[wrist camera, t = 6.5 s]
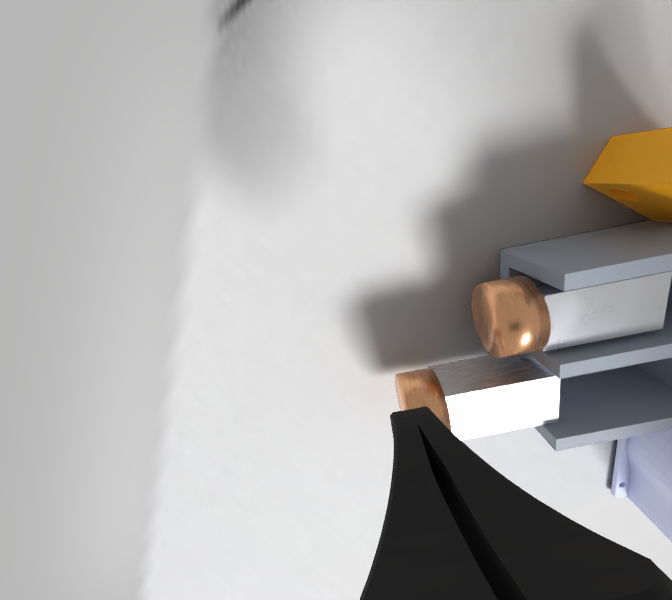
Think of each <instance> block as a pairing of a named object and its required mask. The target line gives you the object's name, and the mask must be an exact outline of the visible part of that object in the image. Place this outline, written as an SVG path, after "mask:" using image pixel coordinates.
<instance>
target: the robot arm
mask: <svg viewBox="0 0 672 600" xmlns="http://www.w3.org/2000/svg"><path fill="white" fill-rule="evenodd" d="M390 418H391V425H392V431H393V438H394V460H393V471H392V481H391V488H390V495H389V500H388V506H387V511H386V515H385V520H384V524H383V529H382V533H381V537H380V540H379V544H378V547H377V550H376V554H375V557H374V560H373V564H372V567H371V570H370V573H369V576H368V579H367V581H366V584H365V587H364V589H363V592H362V595H361V597H360V600H672V580H671V579H670V578H669V577H668V576H667V575H666V574H665V573H664V572H662V571H661V570H660V569H659V568H658V567H657V566H656V565H655V564H654V563H653V562H652V560H650V559H649V558H646V557H644V556H642V555H640V554H638V553H636V552H634V551H632V550H630V549H628V548H626V547H623V546H621V545H619V544H617V543H615V542H613V541H611V540H609V539H607V538H605V537H602V536H601V535H599V534H597V533H595V532H593V531H591V530H589V529H587V528H585V527H584V526H582V525H580V524H578V523H576V522H574V521H572V520H571V519H569V518H567V517H566V516H564V515H562V514H561V513H559V512H557V511H556V510H554V509H552V508H551V507H549V506H547V505H546V504H544V503H542V502H541V501H539V500H537V499H536V498H534V497H533V496H531V495H530V494H528V493H527V492H525V491H524V490H522V489H521V488H519V487H518V486H517V485H515V484H514V483H512V482H511V481H510V480H508V479H507V478H505V477H504V476H503V475H501V474H500V473H499V472H498V471H496V470H495V469H494V468H492V467H491V466H490V465H489V464H487V463H486V462H485V461H484V460H483V459H481V458H480V457H479V456H478V455H477V454H475V453H474V452H473V451H472V450H471V449H470V448H469V447H468V446H466V445H465V444H464V443H463V442H462V441H461V440H460V439H459V438H458V437H457V436H456V435H455V434H454V433H452V432H451V431H450V430H449V429H448V428H447V427H446V426H445V425H444V424H443V422H442V421H441V420H440V419H439V418H438V417H437V416H436V415H435V414H434V413H433V412H432V411H431V409H430V408H428V407H427V406H425V407H420V408H415V409H409V410H404V411H398V412H393V413H392V414H391V415H390ZM611 493H612V495H613V496H614V497H615V498H624V497H628V498H629V499H630V500H631V501H632V502H633V503H634V504H635V505H636V506H637V507H638V508H639V509H640V510H641V511H642V512H643V513H644V514H645V515H646V516H647V517H648V518H649V519H650V520H651V521H652V522H653V523H654V524H655V525H656V526H657V528H658V529H659V530H660V531H661V532H662V533H663V534H664V535H665V536H666V537H667V538H668V539H669V540H670V541H671V542H672V429H670V430H665V431H660V432H654V433H649V434H644V435H638V436H633V437H628V438H622V439H618V442H617V449H616V457H615V464H614V472H613V479H612V487H611Z"/></svg>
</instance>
